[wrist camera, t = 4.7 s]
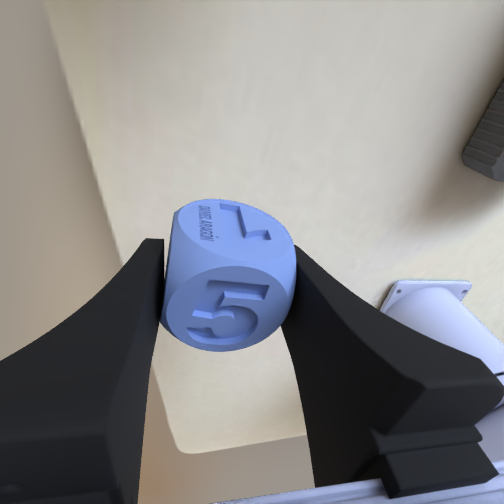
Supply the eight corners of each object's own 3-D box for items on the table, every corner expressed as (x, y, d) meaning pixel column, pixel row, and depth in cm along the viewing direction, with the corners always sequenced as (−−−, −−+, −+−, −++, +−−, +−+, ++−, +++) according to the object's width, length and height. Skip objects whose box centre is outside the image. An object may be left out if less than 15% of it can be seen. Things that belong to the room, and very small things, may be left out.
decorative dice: (278, 208, 12) (310, 270, 9) (252, 282, 14) (270, 355, 11) (176, 189, 11) (171, 254, 8) (164, 274, 13) (156, 352, 10)
